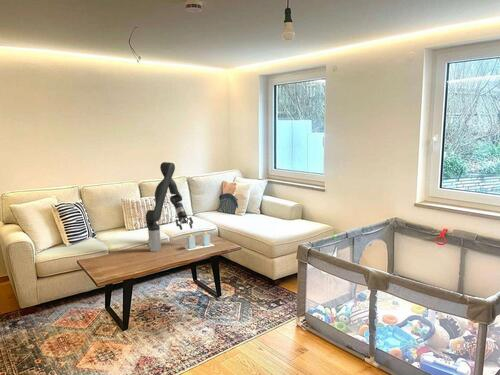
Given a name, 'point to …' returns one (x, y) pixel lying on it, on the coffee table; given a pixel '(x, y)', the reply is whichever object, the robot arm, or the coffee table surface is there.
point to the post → (206, 239)
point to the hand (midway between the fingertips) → (186, 228)
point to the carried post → (191, 242)
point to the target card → (199, 246)
